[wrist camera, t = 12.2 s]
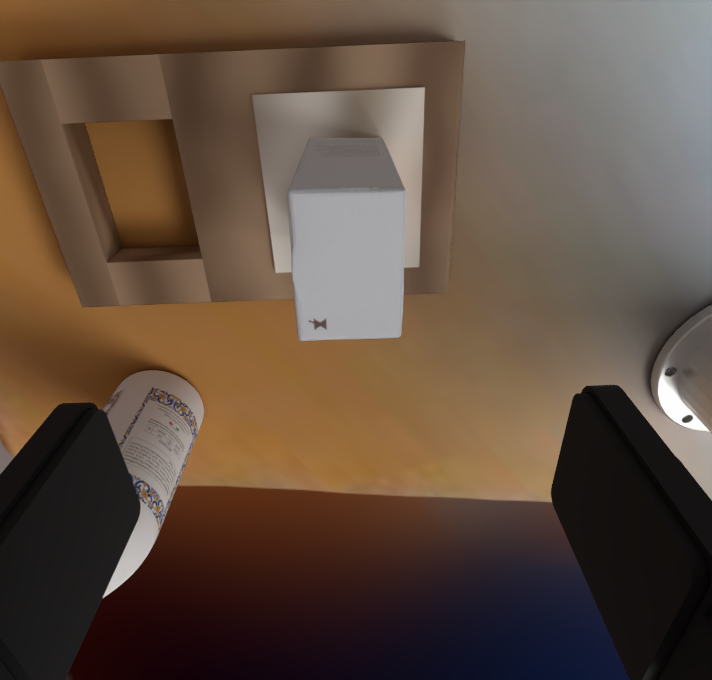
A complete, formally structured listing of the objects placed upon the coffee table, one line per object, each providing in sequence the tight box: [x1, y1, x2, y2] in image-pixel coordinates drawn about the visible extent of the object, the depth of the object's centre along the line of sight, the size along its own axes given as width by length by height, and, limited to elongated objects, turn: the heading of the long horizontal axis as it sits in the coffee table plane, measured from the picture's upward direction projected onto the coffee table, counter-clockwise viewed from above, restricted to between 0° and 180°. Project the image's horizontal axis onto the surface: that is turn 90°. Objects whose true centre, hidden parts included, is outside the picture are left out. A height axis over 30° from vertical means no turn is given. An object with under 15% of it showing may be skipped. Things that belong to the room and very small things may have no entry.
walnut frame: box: [0, 41, 465, 307], centre depth 29 cm, size 24×14×3 cm, turn 92°
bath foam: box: [102, 370, 204, 598], centre depth 31 cm, size 7×7×20 cm
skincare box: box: [287, 137, 406, 341], centre depth 23 cm, size 6×4×12 cm
